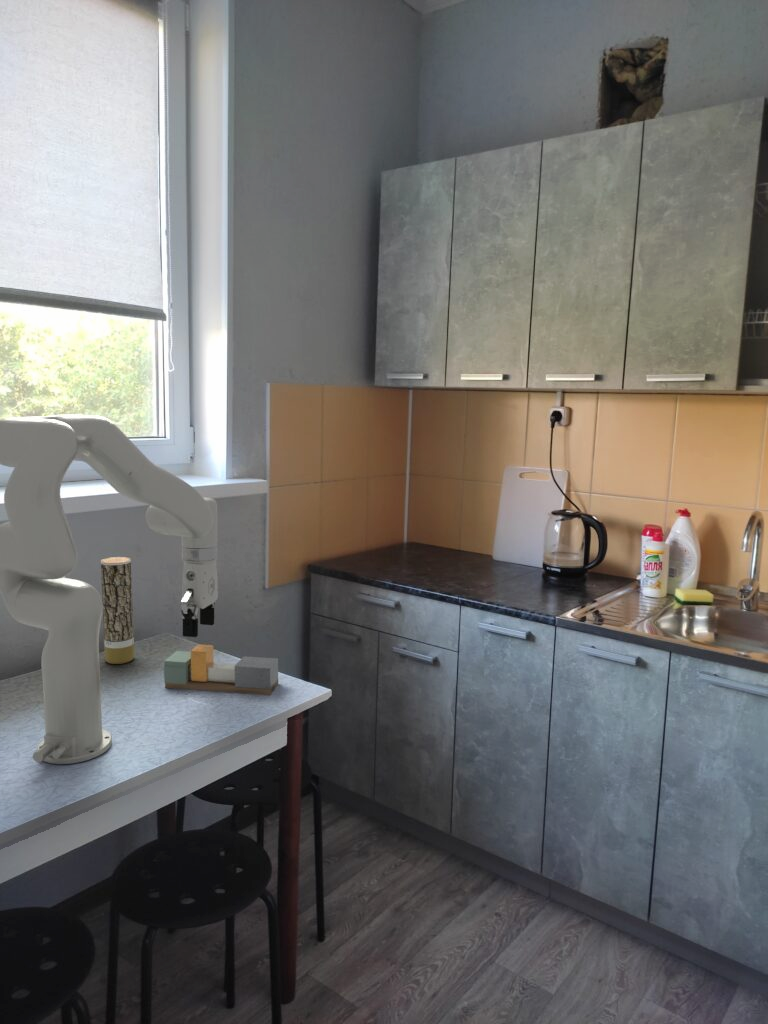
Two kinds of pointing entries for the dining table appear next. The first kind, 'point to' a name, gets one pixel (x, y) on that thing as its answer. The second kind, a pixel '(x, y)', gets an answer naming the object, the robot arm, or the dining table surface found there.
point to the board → (220, 687)
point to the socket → (177, 667)
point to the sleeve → (256, 672)
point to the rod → (209, 666)
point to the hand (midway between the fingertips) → (198, 630)
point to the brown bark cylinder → (117, 609)
